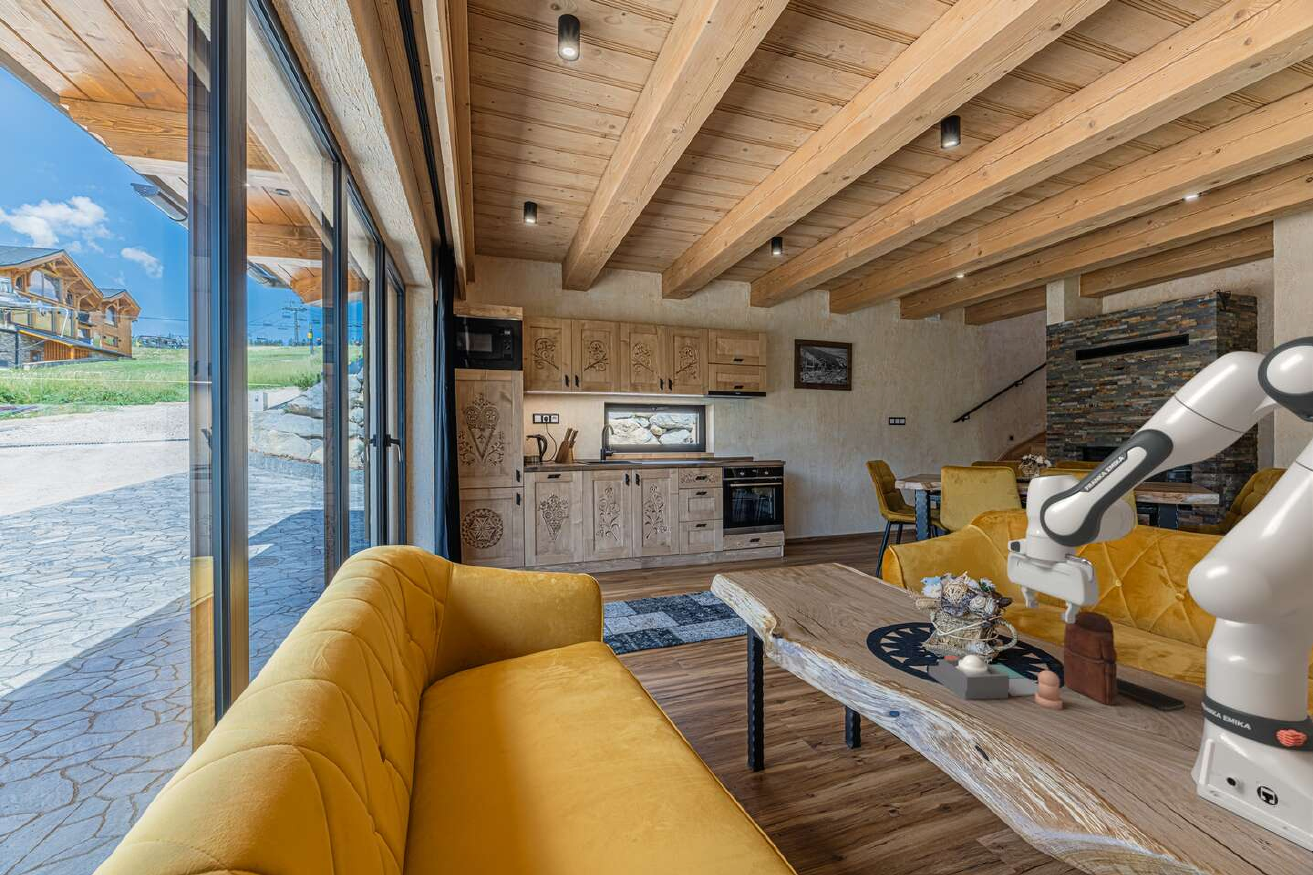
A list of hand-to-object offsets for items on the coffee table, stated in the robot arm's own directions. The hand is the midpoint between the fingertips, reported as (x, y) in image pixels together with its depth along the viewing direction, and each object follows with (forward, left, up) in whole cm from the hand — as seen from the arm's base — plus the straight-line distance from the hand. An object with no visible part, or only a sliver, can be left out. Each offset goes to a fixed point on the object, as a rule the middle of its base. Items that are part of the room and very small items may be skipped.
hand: (1049, 614), depth 119 cm
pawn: (0, 0, -19) cm, 19 cm away
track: (+12, 0, -19) cm, 22 cm away
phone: (+3, -24, -20) cm, 31 cm away
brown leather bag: (+4, -14, -19) cm, 24 cm away
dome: (+8, +11, -17) cm, 22 cm away
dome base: (+10, +11, -19) cm, 24 cm away
